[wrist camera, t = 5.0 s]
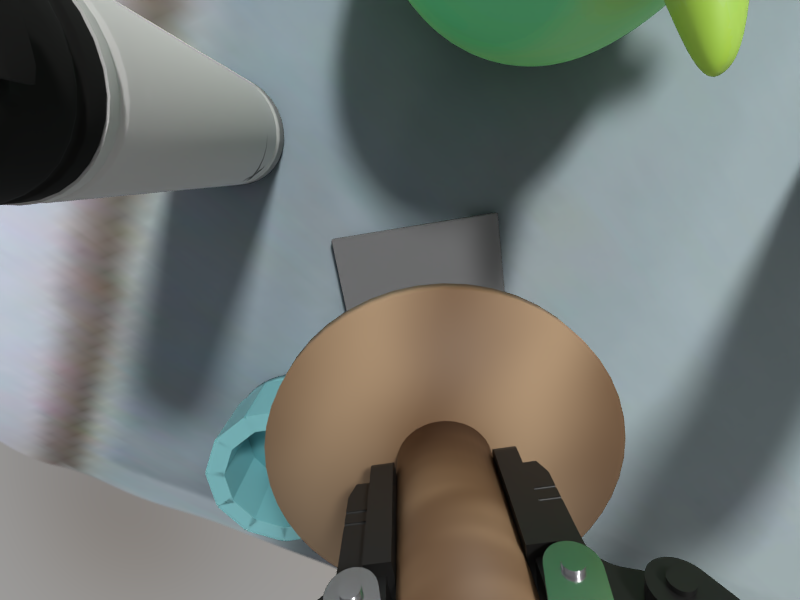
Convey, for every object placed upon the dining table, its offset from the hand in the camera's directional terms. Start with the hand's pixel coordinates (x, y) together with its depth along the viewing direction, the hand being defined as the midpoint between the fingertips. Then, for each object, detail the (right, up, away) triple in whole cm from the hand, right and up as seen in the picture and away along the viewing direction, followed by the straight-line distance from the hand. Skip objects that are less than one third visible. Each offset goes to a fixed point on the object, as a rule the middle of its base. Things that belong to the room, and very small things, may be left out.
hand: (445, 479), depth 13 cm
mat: (0, +5, +16) cm, 17 cm away
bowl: (-9, -5, +19) cm, 22 cm away
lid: (0, +1, +1) cm, 2 cm away
